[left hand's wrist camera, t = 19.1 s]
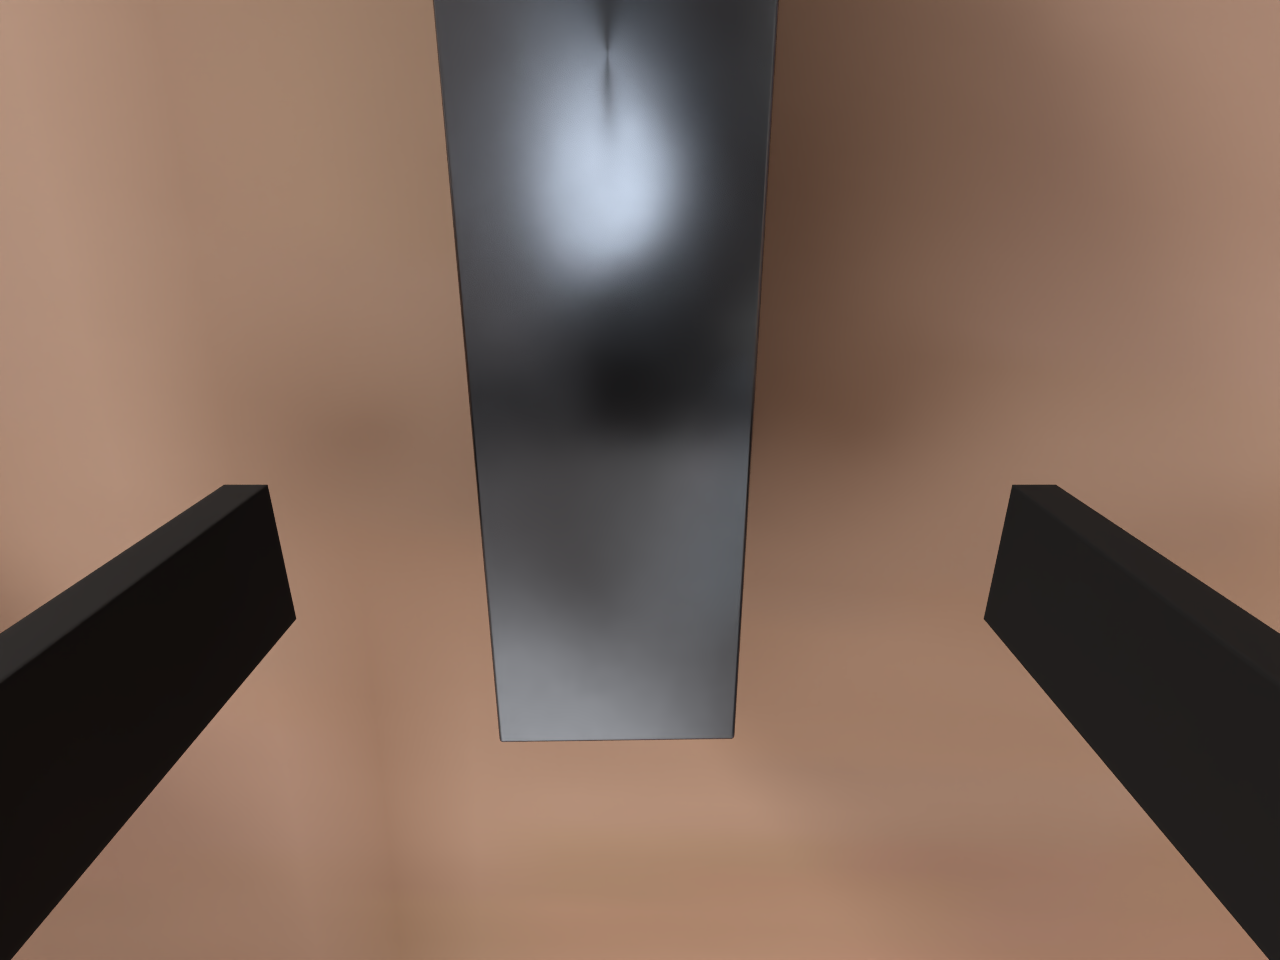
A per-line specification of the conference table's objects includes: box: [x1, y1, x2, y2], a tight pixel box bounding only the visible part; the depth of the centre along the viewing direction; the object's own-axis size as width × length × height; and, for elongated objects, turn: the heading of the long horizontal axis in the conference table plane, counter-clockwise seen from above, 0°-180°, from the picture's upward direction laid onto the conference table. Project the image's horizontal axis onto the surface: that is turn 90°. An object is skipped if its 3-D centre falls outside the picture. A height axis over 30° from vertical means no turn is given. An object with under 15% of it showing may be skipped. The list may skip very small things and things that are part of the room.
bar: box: [433, 0, 779, 742], centre depth 14 cm, size 24×5×8 cm, turn 0°
